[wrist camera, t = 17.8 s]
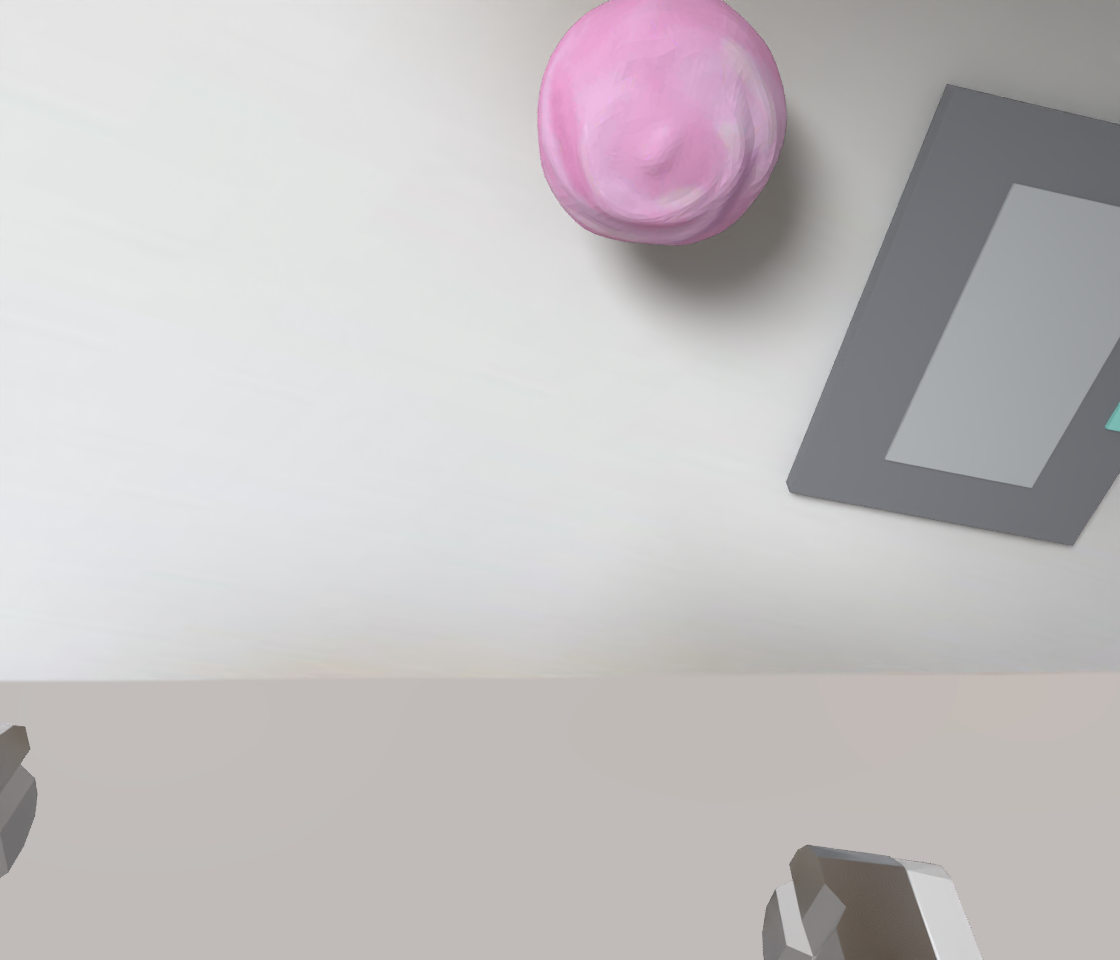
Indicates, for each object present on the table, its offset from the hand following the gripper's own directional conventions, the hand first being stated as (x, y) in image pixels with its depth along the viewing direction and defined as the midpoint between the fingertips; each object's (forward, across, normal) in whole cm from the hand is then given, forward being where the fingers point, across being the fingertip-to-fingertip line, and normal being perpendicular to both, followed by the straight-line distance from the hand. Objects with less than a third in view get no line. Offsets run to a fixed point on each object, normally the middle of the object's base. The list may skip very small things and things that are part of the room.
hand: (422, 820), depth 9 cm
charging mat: (+34, -24, +4) cm, 42 cm away
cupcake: (+34, -4, -3) cm, 35 cm away
